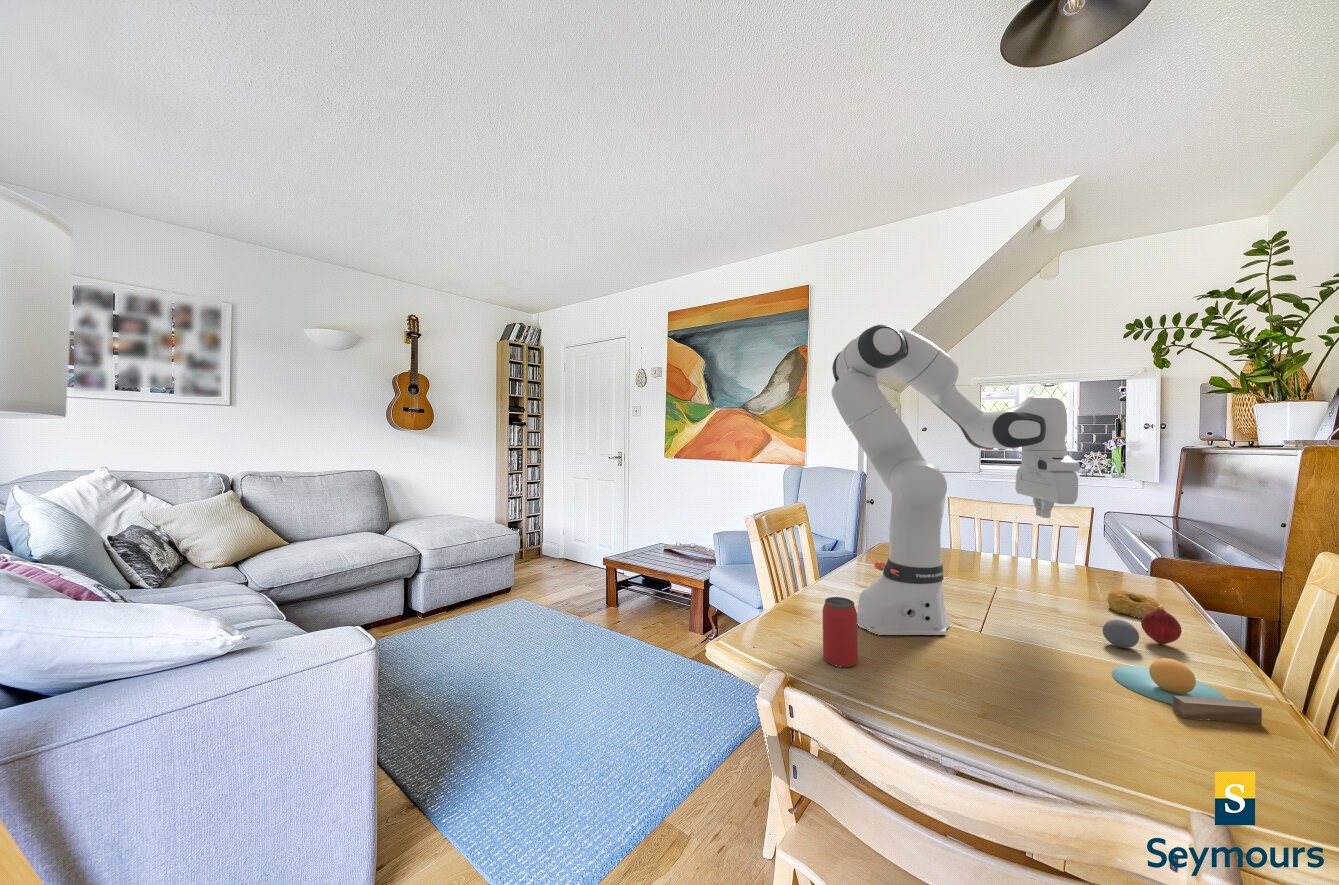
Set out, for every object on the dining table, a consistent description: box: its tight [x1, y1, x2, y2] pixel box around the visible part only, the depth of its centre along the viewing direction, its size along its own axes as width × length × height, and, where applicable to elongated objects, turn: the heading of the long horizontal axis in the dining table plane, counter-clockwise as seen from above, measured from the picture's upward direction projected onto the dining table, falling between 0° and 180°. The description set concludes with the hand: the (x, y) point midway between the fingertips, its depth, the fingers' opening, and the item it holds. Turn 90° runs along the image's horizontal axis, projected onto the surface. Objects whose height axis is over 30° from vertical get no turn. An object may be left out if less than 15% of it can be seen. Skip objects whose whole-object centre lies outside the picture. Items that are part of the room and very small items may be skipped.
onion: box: [1140, 605, 1182, 646], centre depth 99 cm, size 6×6×8 cm
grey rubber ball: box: [1102, 619, 1140, 649], centre depth 98 cm, size 6×6×6 cm
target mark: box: [1111, 665, 1228, 706], centre depth 83 cm, size 14×14×1 cm
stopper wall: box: [1172, 696, 1263, 725], centre depth 74 cm, size 2×10×2 cm, turn 79°
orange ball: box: [1148, 657, 1197, 694], centre depth 81 cm, size 6×6×6 cm
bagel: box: [1106, 589, 1161, 619], centre depth 116 cm, size 10×11×5 cm
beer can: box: [822, 596, 859, 668], centre depth 94 cm, size 7×7×12 cm
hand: (1043, 517), depth 118 cm, fingers closed
